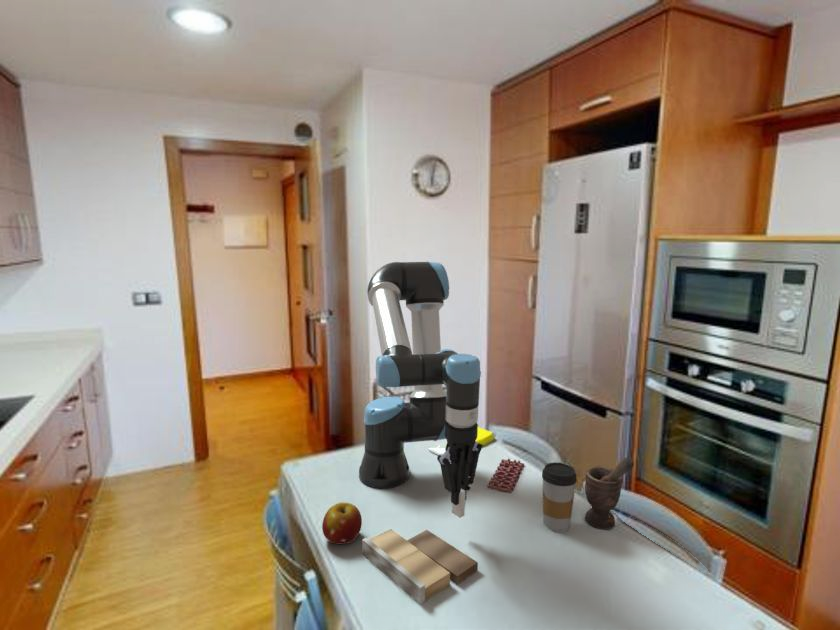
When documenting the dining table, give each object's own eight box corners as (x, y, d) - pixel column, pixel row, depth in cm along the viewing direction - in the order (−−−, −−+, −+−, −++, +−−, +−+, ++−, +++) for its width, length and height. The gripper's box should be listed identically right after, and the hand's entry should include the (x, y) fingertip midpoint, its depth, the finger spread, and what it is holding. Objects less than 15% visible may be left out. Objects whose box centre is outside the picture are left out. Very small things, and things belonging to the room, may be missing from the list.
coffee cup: (575, 536, 118) (579, 479, 116) (539, 532, 120) (543, 475, 118) (571, 517, 126) (575, 463, 124) (538, 513, 128) (541, 460, 126)
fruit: (343, 555, 111) (343, 523, 109) (314, 542, 115) (313, 511, 114) (369, 534, 119) (369, 503, 117) (341, 522, 123) (340, 492, 122)
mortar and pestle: (635, 525, 123) (641, 450, 120) (625, 541, 117) (631, 463, 114) (589, 508, 131) (594, 438, 127) (577, 523, 124) (582, 449, 121)
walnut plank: (406, 550, 113) (406, 540, 113) (426, 539, 118) (426, 529, 117) (456, 586, 102) (457, 576, 101) (477, 572, 106) (477, 562, 106)
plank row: (362, 553, 111) (362, 539, 111) (391, 539, 117) (391, 525, 116) (420, 604, 96) (420, 587, 96) (449, 585, 102) (450, 569, 101)
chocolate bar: (524, 466, 155) (524, 460, 155) (511, 495, 138) (511, 488, 138) (502, 462, 158) (502, 456, 158) (486, 489, 141) (486, 483, 140)
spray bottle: (496, 441, 174) (447, 463, 157) (473, 432, 182) (424, 452, 165) (496, 433, 173) (447, 454, 157) (473, 424, 181) (424, 443, 165)
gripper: (452, 435, 106) (449, 532, 110) (492, 419, 114) (488, 511, 119) (429, 423, 111) (427, 517, 116) (469, 410, 119) (465, 497, 124)
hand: (458, 514), depth 117 cm, fingers closed
